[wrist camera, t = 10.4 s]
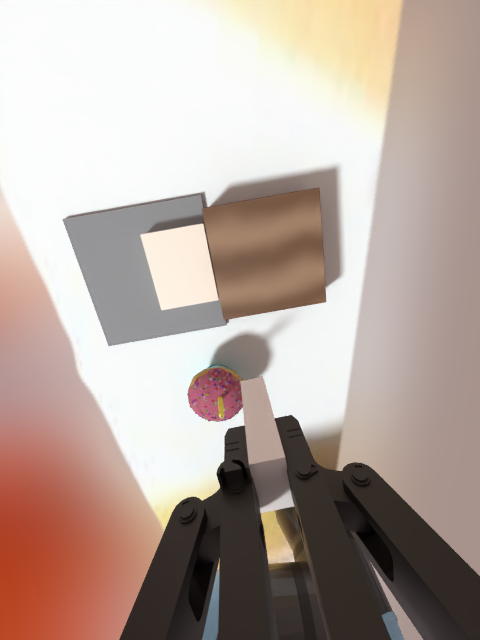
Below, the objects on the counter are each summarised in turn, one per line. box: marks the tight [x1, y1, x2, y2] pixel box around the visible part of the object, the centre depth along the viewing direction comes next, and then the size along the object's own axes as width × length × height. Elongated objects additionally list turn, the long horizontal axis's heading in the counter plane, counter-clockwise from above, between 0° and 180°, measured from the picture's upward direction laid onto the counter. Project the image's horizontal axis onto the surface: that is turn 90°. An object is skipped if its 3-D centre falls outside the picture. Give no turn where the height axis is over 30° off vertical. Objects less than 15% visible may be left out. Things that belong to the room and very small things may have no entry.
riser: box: [202, 188, 326, 320], centre depth 33 cm, size 14×14×4 cm
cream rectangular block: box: [140, 224, 219, 310], centre depth 34 cm, size 10×8×2 cm
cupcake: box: [187, 365, 243, 422], centre depth 35 cm, size 9×8×12 cm
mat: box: [63, 195, 226, 346], centre depth 35 cm, size 18×18×1 cm
